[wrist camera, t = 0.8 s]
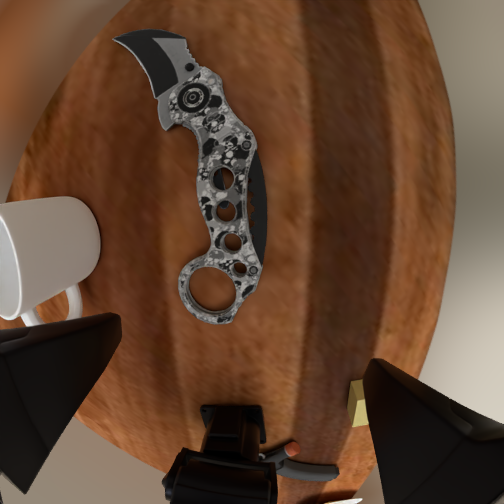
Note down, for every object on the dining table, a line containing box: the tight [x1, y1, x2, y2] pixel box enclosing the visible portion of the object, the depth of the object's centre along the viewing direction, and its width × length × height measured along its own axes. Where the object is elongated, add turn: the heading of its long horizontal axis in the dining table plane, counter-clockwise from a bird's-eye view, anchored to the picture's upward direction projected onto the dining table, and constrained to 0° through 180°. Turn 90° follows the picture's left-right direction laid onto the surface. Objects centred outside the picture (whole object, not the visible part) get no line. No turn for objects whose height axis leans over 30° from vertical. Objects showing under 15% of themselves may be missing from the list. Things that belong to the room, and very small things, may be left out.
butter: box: [347, 379, 369, 427], centre depth 22 cm, size 4×4×3 cm
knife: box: [113, 29, 267, 324], centre depth 19 cm, size 28×2×10 cm
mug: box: [0, 196, 100, 327], centre depth 17 cm, size 12×8×10 cm
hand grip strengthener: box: [258, 441, 340, 481], centre depth 26 cm, size 2×13×15 cm
